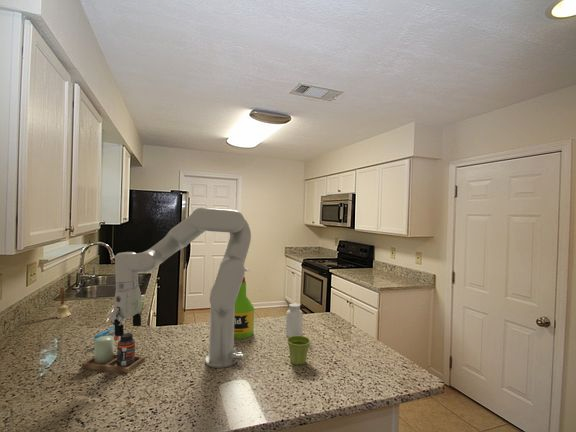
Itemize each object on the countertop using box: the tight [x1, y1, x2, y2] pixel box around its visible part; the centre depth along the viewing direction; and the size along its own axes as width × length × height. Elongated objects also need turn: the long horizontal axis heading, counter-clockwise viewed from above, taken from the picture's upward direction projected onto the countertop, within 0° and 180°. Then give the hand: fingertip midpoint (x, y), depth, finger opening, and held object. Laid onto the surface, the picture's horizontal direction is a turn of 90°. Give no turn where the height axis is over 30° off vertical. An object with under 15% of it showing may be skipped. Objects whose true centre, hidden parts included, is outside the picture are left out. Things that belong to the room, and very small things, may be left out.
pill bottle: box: [285, 303, 304, 338], centre depth 152 cm, size 8×8×15 cm
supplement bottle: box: [116, 332, 136, 367], centre depth 117 cm, size 6×6×11 cm
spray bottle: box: [234, 265, 255, 339], centre depth 154 cm, size 14×18×35 cm
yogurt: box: [94, 326, 120, 341], centre depth 137 cm, size 12×2×6 cm, turn 167°
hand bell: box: [54, 287, 72, 318], centre depth 174 cm, size 8×8×16 cm
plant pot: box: [286, 335, 311, 366], centre depth 124 cm, size 9×9×9 cm
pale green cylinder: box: [93, 336, 115, 365], centre depth 118 cm, size 6×6×9 cm
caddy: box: [81, 352, 146, 374], centre depth 118 cm, size 19×10×2 cm, turn 80°
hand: (128, 330), depth 117 cm, fingers open, 9 cm apart
